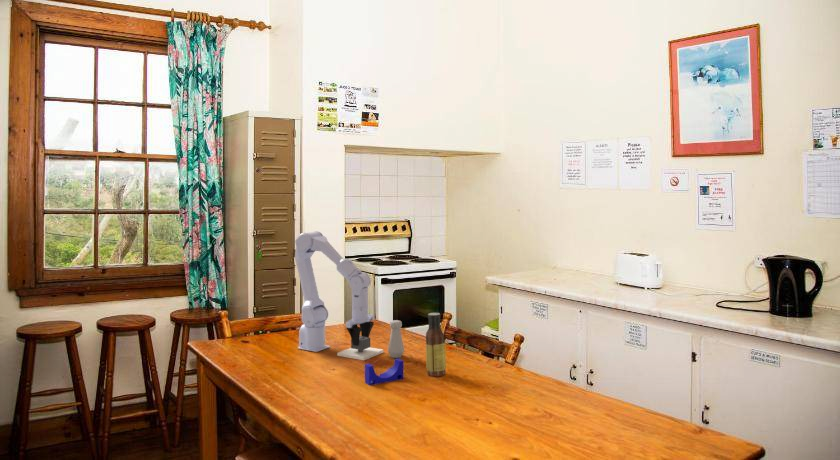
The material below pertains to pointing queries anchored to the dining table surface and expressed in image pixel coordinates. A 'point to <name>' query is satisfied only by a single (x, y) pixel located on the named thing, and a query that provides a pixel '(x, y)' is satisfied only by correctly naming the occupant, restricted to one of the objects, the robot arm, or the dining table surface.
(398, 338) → the salt shaker
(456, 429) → the dining table surface
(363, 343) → the square frame block
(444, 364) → the sauce bottle
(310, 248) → the robot arm
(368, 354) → the peg base
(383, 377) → the blue cradle stand
